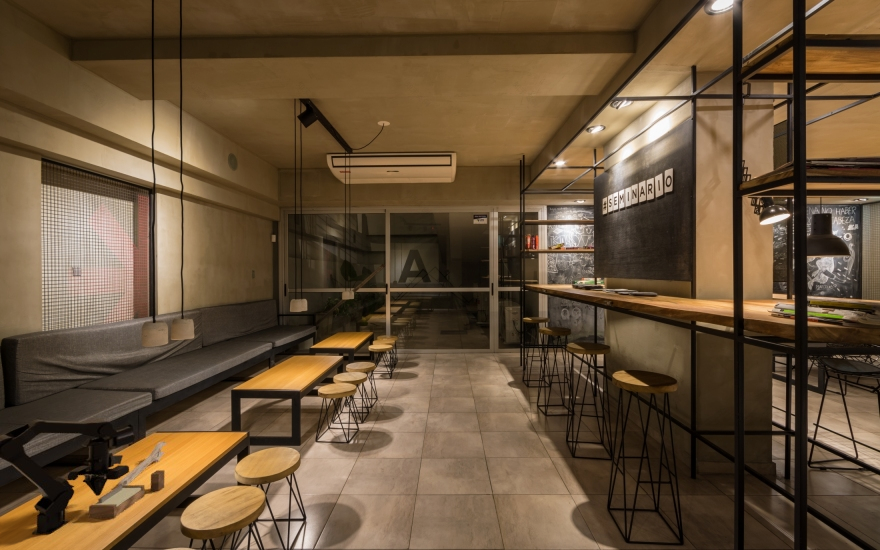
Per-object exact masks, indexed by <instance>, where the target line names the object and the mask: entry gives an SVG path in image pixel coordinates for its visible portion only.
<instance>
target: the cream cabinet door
mask: <svg viewBox="0 0 880 550" xmlns="http://www.w3.org/2000/svg"><path fill="white" fill-rule="evenodd" d="M140 490H141V488H122V486H118V485H117V487H115V488H114V489H112V490H111V491H109V492H107V493H105V494H104V495H103V496H100V497H99V498H98V501H97V502H96V503H94V504H93V505H109V504H117V506H119V505H120V504H121V503H123V502H124V501H126V500H127V499H129V498H130V497H131V496H133V495H134V494H136V493H137V492H139V491H140Z"/></svg>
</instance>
